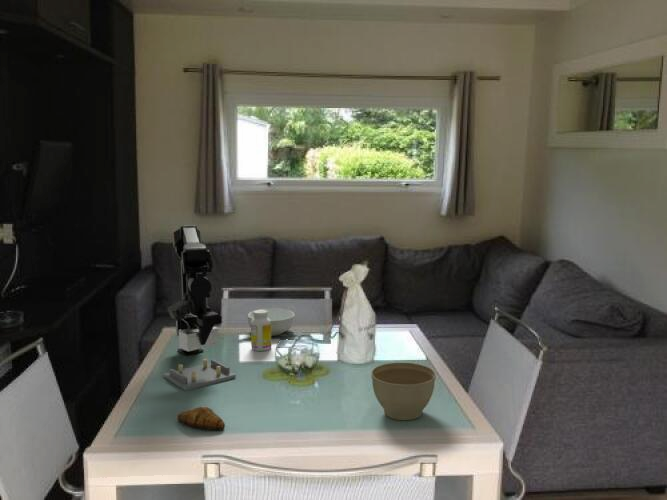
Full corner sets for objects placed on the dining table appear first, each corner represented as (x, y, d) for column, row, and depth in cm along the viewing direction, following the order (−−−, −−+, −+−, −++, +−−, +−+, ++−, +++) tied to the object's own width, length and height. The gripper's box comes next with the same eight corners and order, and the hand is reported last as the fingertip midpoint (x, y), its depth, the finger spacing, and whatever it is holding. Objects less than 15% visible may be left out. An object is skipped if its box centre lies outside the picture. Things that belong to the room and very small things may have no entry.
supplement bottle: (273, 345, 222) (272, 309, 220) (269, 352, 216) (268, 314, 214) (253, 345, 223) (253, 308, 221) (249, 351, 216) (248, 313, 214)
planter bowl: (370, 401, 174) (370, 361, 173) (430, 401, 174) (431, 362, 172) (371, 426, 158) (372, 383, 157) (438, 427, 158) (439, 384, 156)
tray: (164, 376, 192) (163, 365, 192) (212, 365, 202) (212, 354, 202) (185, 390, 182) (185, 378, 181) (235, 377, 192) (235, 366, 191)
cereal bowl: (242, 338, 231) (241, 318, 230) (255, 325, 247) (255, 307, 246) (288, 340, 228) (288, 321, 227) (299, 327, 244) (299, 309, 243)
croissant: (232, 425, 160) (231, 406, 159) (215, 436, 154) (215, 416, 153) (187, 416, 165) (186, 397, 165) (170, 426, 159) (169, 406, 159)
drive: (179, 347, 189) (178, 330, 188) (209, 340, 196) (208, 324, 195) (187, 351, 185) (187, 334, 185) (218, 344, 192) (217, 328, 191)
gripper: (156, 288, 190) (159, 340, 193) (185, 300, 176) (187, 356, 178) (191, 283, 197) (193, 333, 199) (222, 294, 183) (223, 348, 185)
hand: (198, 342), depth 190 cm, fingers closed on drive, 5 cm apart
